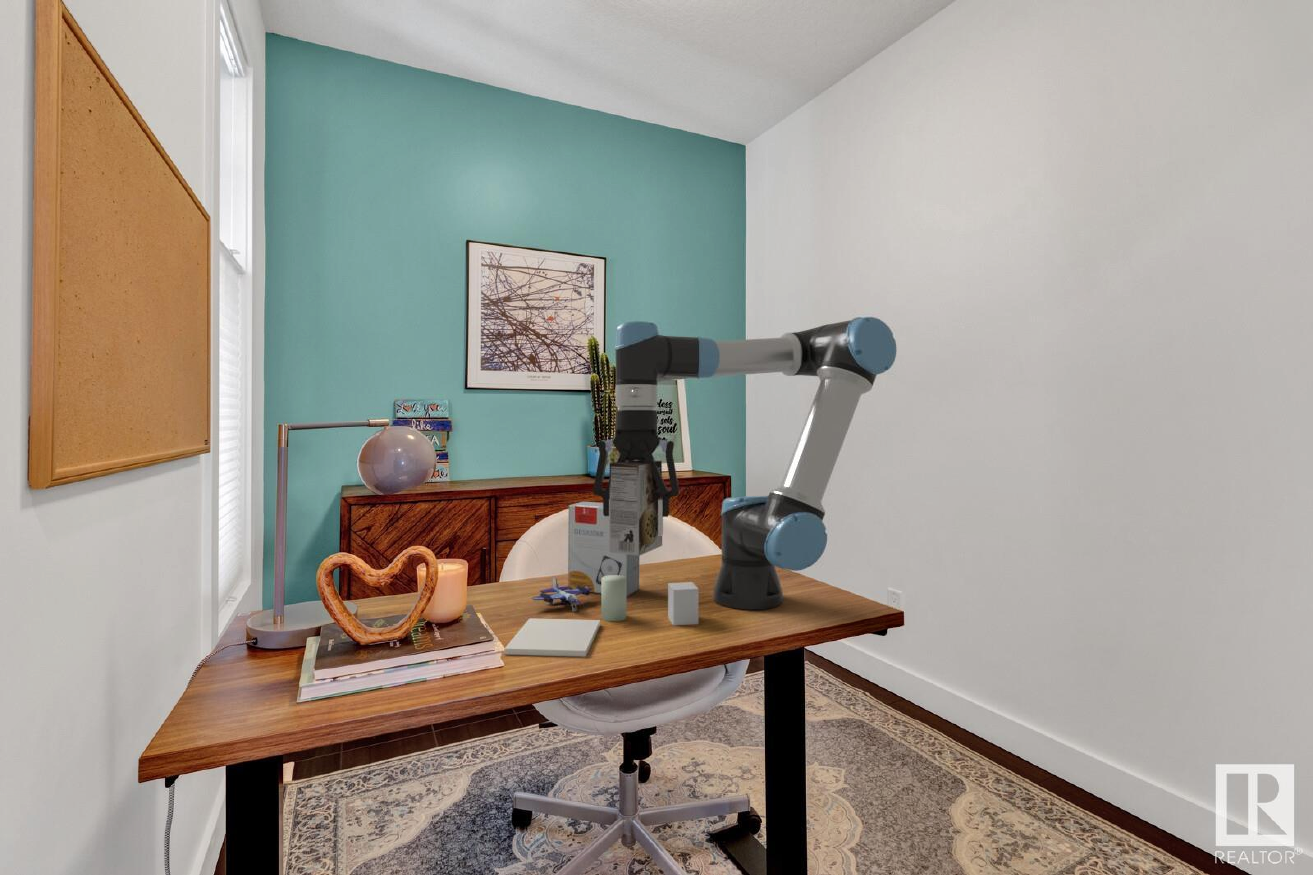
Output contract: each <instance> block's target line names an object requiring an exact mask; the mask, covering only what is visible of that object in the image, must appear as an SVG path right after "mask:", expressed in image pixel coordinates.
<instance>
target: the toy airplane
mask: <svg viewBox="0 0 1313 875" xmlns="http://www.w3.org/2000/svg"><path fill="white" fill-rule="evenodd" d="M571 588H572V587H570V586H568V585H566V586H559V583H558V580H557V578H556V577H552V587H550V588H547V589H543V590H540V591H539V593H540V594H539V595H538V596H532V597H531V599H532V600H533V601H544V602H546V603H549V604H550V605H551V606H552V605H553V604H554V600H560V602H561V604H564V605H566V606H568V605H569V606H571V608H572V609H571V610H572V612H573V613H576V612H577V610H578V609H577V607H576V606H575V607H573V604H575V605H577V604H579V605H582V606H584V607H586V606H585V605H584V604H583V603H581V602H580V601H579V600H578V595H585V596H589V595H590V594H591V592H590V590H592V588H590V587H582V586H577V587H576V589H571ZM547 593H549V594H547Z"/></svg>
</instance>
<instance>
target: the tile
mask: <svg viewBox="0 0 1313 875" xmlns="http://www.w3.org/2000/svg"><path fill="white" fill-rule="evenodd" d="M600 627H601V619H570V618H569V619H568V618H567V619H566V618H561V619H560V618H528V619H527V621H526V622H525V623H524V624H523V625H522V627H521V628H520V629H519V630H518V632H517V633H516V634H515V635H514V637H513V638H512V639H511V640H510V641H509V642H508V644H507V645H506V646H505V647H504V655H508V656H509V655H512V656H513V655H515V656H549V657H550V656H552V657H555V656H556V657H581V658H582V657H585V658H586V657H587V655H588V652H589V651H590V648H591V646H592V644H593V642H594V640H595V638H596V635H597V633H598V631H599V629H600Z"/></svg>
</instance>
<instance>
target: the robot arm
mask: <svg viewBox="0 0 1313 875" xmlns="http://www.w3.org/2000/svg"><path fill="white" fill-rule="evenodd" d="M615 333H616V334H615V343H614V344H615V345H614V352H615V353H614V354H615V355H614V356H615V407H617V408H618V410H616V411H615V434H614V436H613V438H612V439H608V440H603V439H602V440H600V441H598V443H597V446H598V451H599V452H598V453H599V456H598V462H597V466H596V473H595V478H594V485H593V489H592V493H593V495H594V496H599V497H601V498H602V503H603V514H604V516H609V535H610V479H609V480H608V482H607V484H606V486H605V489H603V485H604V484H603V483H604V478H605V473H606V467H607V463H608V462H607V461H608V455H609V452H611V450H612V447H613V446H614V447H615V449H616V450H617V451H618V452H619V457H618V459H617V461H616V462H625V461H633V460H639V461H645V460H646V462H647V463H651V464H652V475H653V477H654V480H655V482H656V484H657V486H658V489H659V491H660V493H661V495H662V498H659V499H658V536H662V537H663V535H664V517H665V518H668V517H669V514H670V499H671V498H673V497H675V496H676V497H678V495H679V494H680V488H679V487H680V486H679V482H678V478H677V477H678V476H677V470H676V466H675V459H674V454H673V453H674V447H675V442H674V441H673V440H663V439H660V437H659V435H658V412H657V410H655V408H657V407H658V382H663V381H664V382H665V381H676V380H686V379H687V380H688V379H709V378H713V377H728V376H731V377H732V376H743V375H744V376H745V375H756V374H769V373H771V374H772V373H782V374H783V375H784V376H787V377H792V376H806V377H807V376H808V377H818V379H819V382H820V383H819V386H818V387H817V390H816V393H815V396H814V398H813V400H812V403H811V406H810V409H809V412H808V414H807V416H806V419H805V421H804V424H803V427H802V430H801V432H800V434H799V436H798V437H799V438H798V439H797V442H796V445H795V448H794V450H793V453H792V455H791V458H790V461H789V463H788V465H787V468H786V470H785V473H784V475H783V478H782V481H781V484H780V486H779V487H777V488H774V489H773V490H771V491H770V492H769V494H768V495H757V496H756V495H755V496H754V495H753V496H737V497H736V496H735V497H734V496H733V497H727V498H725V499H723V501H722V504H721V505H722V506H721V513H720V516H721V563H720V564H721V565H720V569H719V572H718V574H717V578H716V580H715V583H714V587H713V601H714V602H716V603H717V604H719V605H721V606H725V607H728V608H733V609H740V610H765V609H766V610H767V609H771V608H772V609H773V608H775V607H776V608H777V607H778V606H780V605H782V603H783V596H784V595H783V593H784V592H783V589H782V585H781V582H780V579H779V576H778V571H777V569H776V567H777V568H778V569H781V570H785V569H786V570H787V571H796V572H797V571H803V570H805V569H808V568H810V567H811V566H813V565H814V564H815V563H817V562H818V560H820V558H821V557H822V556H823V554H824V552H825V550H826V547H827V542H828V534H827V532H826V530H827V528H826V525H825V523H824V521H823V520H824V518H825V515H826V511H825V509H824V507H823V504H822V501H823V497H824V495H825V492H826V489H827V487H828V484H829V482H830V479H831V476H832V475H833V474H832V473H833V471H834V468H835V466H836V464H837V460H838V458H839V455H840V452H841V449H842V448H843V444H844V442H845V439H846V437H847V436H846V435H847V434H848V431H849V428H850V426H851V423H852V420H853V418H854V415H855V412H856V410H857V407H858V404H859V402H860V399H861V396H862V395H863V394H866V393H868V392H870V391H871V390H872V389H873V385H874V383H875V381H876V378H877V375H881V374H883V373H885V372H887V371H889V370H890V369H891V368H892V366H893V365H894V362H895V361H896V357H897V343H896V339H895V337H894V334H893V331H892V330H891V328H890V327H889V325H888V324H887V323H885V322H884V321H883V320H881V319H880V318H877V317H875V316H866V317H854V318H853V319H850V320H844V321H839V322H834V323H829V324H823V325H819V326H817V327H814V328H809V329H805V330H802V331H796V332H786V333H783V334H782V335H781V336H780V337H773V338H772V337H770V338H754V339H753V338H752V339H749V338H748V339H734V340H733V339H732V340H731V339H730V340H713V339H712V338H708V337H707V338H706V337H700V336H673V335H672V336H671V335H669V336H668V335H663V334H659V331H658V326H657V324H656V323H654V322H648V321H639V320H638V321H637V320H636V321H625V322H622V323H620V324H619V325H618V326H617V327H616V332H615ZM659 446H660V447H661V451H662V452H663V453H665V460H666V466H667V473H668V476H669V482H670V488H671V489H669V490H668V487H667V485H666V483H665V480H664V479H663V475H662V476H661V474H660V471H659V469H658V467H657V466H656V464H655V461H656V459H655V457H654V456H653V455H654V454H653V453H654V452H655V451H656V449H657V448H658V447H659Z"/></svg>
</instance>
